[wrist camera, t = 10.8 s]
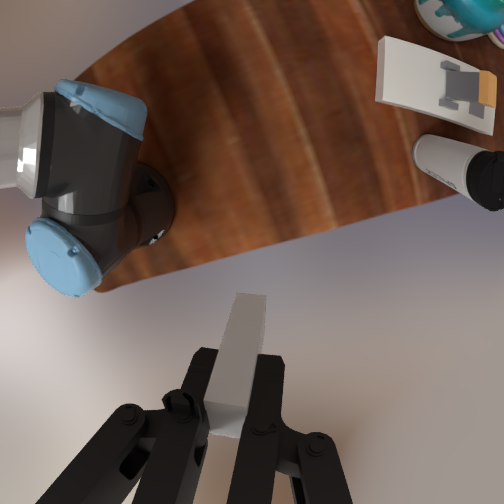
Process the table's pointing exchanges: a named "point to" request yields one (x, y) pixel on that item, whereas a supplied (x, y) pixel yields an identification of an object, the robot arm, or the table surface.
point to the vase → (460, 17)
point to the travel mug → (463, 168)
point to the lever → (471, 87)
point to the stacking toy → (498, 36)
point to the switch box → (425, 84)
